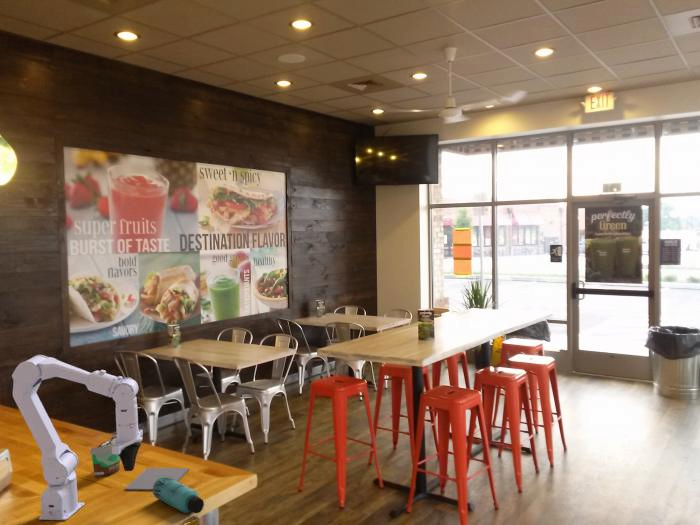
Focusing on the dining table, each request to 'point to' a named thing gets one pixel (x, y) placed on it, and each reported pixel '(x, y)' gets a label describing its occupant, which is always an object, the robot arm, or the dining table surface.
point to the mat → (155, 477)
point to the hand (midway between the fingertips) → (129, 470)
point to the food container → (105, 459)
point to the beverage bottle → (177, 495)
